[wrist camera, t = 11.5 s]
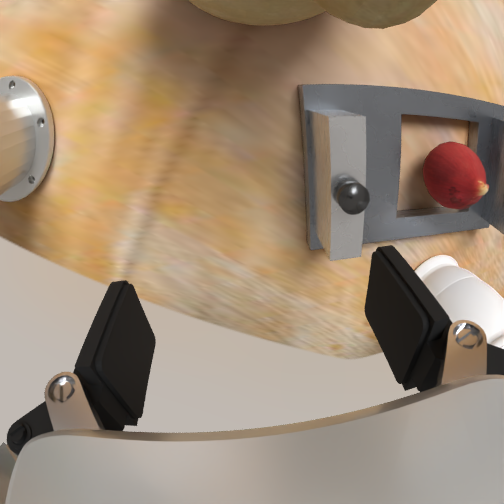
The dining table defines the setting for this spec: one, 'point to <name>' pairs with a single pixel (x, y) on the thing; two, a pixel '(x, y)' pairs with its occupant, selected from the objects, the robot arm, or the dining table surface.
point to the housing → (389, 153)
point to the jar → (464, 296)
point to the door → (339, 180)
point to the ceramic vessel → (315, 11)
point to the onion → (454, 176)
